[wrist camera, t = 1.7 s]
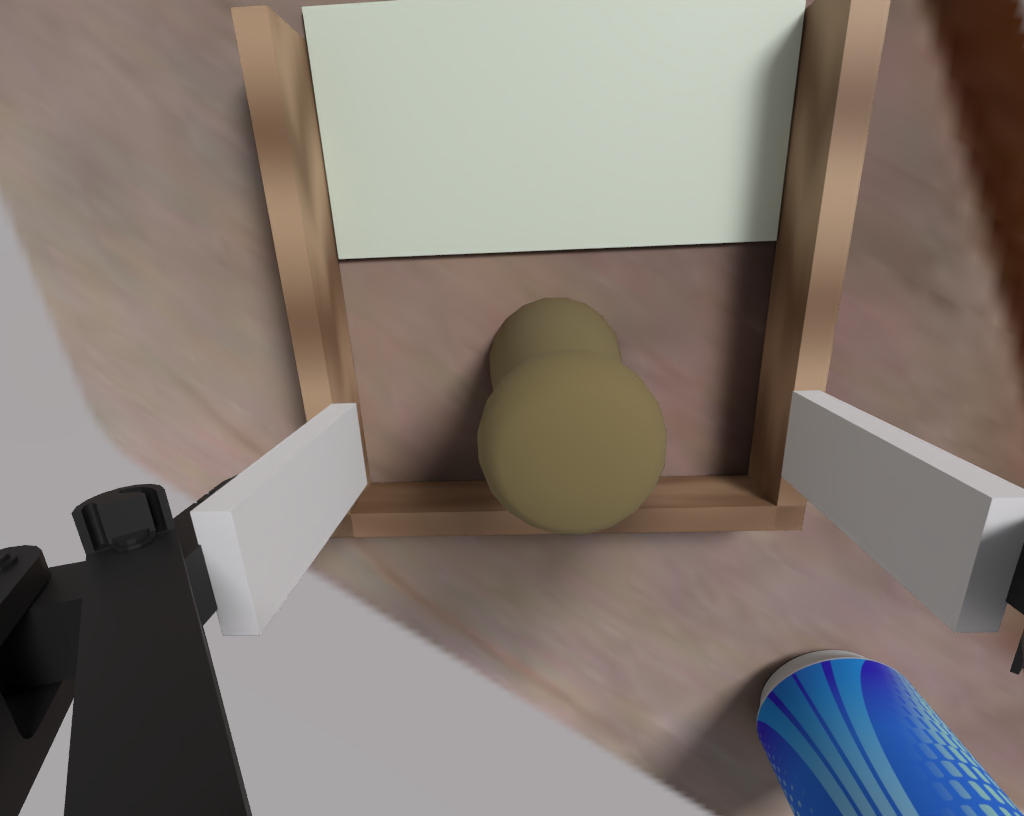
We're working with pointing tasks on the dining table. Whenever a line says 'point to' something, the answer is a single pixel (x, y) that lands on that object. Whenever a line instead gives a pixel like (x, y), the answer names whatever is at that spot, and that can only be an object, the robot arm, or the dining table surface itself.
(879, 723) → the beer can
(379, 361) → the dining table surface
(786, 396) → the bay
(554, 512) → the olive chess pawn
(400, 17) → the front pad
